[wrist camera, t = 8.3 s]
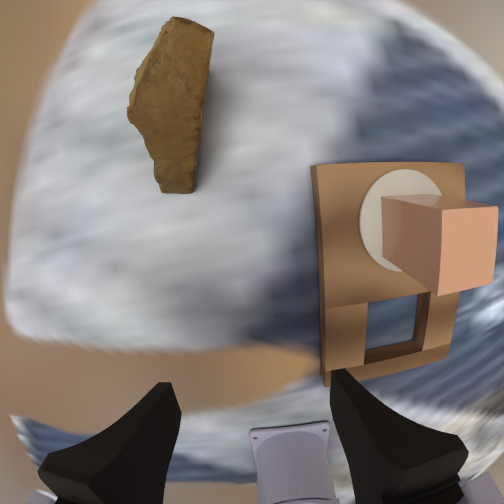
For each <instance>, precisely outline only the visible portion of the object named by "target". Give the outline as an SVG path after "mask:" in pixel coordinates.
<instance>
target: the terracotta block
mask: <svg viewBox="0 0 504 504" xmlns="http://www.w3.org/2000/svg"><path fill="white" fill-rule="evenodd" d="M381 212H382V257H383V258H385V259H386V260H388V261H389V262H391V263H392V264H393V265H395V266H396V267H398V268H399V269H401V270H402V271H403V272H405V273H406V274H408V275H409V276H410V277H412V278H413V279H415V280H416V281H417V282H419V283H420V284H421V285H423V286H424V287H426V288H427V289H428V290H430V291H431V292H432V293H434V294H435V295H436V296H441V295H445V294H450V293H454V292H458V291H463V290H467V289H471V288H475V287H479V286H482V285H486V284H490V283H492V281H493V274H494V266H495V257H496V245H497V230H498V206H494V205H489V204H484V203H479V202H474V201H468V200H463V199H458V198H452V197H446V196H440V195H434V194H418V195H399V196H382V197H381Z"/></svg>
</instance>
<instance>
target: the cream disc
mask: <svg viewBox="0 0 504 504" xmlns="http://www.w3.org/2000/svg"><path fill="white" fill-rule="evenodd" d="M418 194H434V195H440V196H442V194H441V192H440V191H439V189H438V187H437V186H436V185H435V183H434V182H433V181H432V180H431V179H430V178H428V177H427V176H426V175H424V174H422V173H420V172H418V171H415V170H409V169H398V170H393V171H389V172H387V173H385V174H383V175H381V176H380V177H379V178H377V179H376V180H375V181H374V182H373V183H372V184H371V185H370V187H369V188H368V190H367V191H366V193H365V195H364V197H363V199H362V202H361V205H360V209H359V215H358V228H359V234H360V238H361V241H362V244H363V246H364V248H365V250H366V251H367V253H368V254H369V255H370V256H371V257H372V258H373V259H374V260H375V261H376V262H377V263H379V264H380V265H381V266H383V267H385V268H387V269H389V270H393V271H400V272H403V271H402V270H401V269H399V268H398V267H396V266H395V265H393V264H392V263H391V262H389V261H388V260H386V259H385V258H383V257H382V212H381V197H382V196H399V195H418Z"/></svg>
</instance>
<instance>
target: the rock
mask: <svg viewBox="0 0 504 504" xmlns="http://www.w3.org/2000/svg"><path fill="white" fill-rule="evenodd" d="M213 39H214V32H213V31H211V30H210V29H208V28H206V27H204V26H202V25H200V24H198V23H196V22H194V21H192V20H189V19H185V18H180V17H171V19H170V21H167V22H166V23H165V25H163V26H162V29H161V32H160V33H159V36H158V38H157V40H156V41H155V43H154V46H153V48H152V49H151V50H150V52H149V53H148V55H147V56H146V58H145V59H144V60H143V62H142V64H141V66H140V67H139V68H137V70H136V75H135V77H134V79H135V85H134V88H133V90H132V91H131V93H130V98H129V103H130V105H129V106H128V107H127V117H128V119H129V121H130V123H131V124H133V125H134V126H135V127H136V128H137V129H138V131H139V132H140V133H141V135H142V136H143V138H144V141H145V146H146V148H147V150H148V151H149V154H150V157H151V158H152V159H153V160H154V177H155V179H156V181H157V183H159V186H160V190H161V192H162V193H178V194H189V193H193V192H194V190H195V186H196V170H197V162H198V149H199V146H200V135H201V125H202V117H203V104H204V102H205V90H206V84H207V80H208V72H209V64H210V58H211V53H212V45H213Z"/></svg>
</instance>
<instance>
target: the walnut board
mask: <svg viewBox="0 0 504 504" xmlns="http://www.w3.org/2000/svg"><path fill="white" fill-rule="evenodd" d="M398 169H409V170H415V171H418V172H420V173H422V174H424V175H426V176H427V177H428V178H430V179H431V180H432V181H433V182H434V183H435V185H436V186H437V187H438V189H439V191H440V192H441V194H442V196H446V197H452V198H458V199H463V200H465V176H464V163H445V162H369V163H343V164H325V165H314V166H311V176H312V186H313V197H314V208H315V221H316V235H317V251H318V270H319V293H320V337H321V376H322V380H323V383H324V386H325V387H329V386H331V370H336V369H342V368H345V369H346V370H347V371H348V372H349V373H350V374H351V375H352V376H353V377H354V378H355V379H356V380H357V381H362V380H366V379H371V378H376V377H380V376H384V375H389V374H393V373H397V372H401V371H405V370H408V369H412V368H416V367H419V366H423V365H426V364H429V363H433V362H436V361H439V360H442V359H445V358H447V356H448V352H449V347H450V343H451V339H452V334H453V329H454V324H455V319H456V313H457V307H458V301H459V294H460V291H458V292H454V293H450V294H445V295H441V296H436V295H435V294H434V293H432V292H431V291H430V290H428V289H427V288H426V287H424V286H423V285H421V284H420V283H419V282H417V281H416V280H415V279H413V278H412V277H410V276H409V275H408V274H406V273H405V272H400V271H393V270H389V269H387V268H385V267H383V266H381V265H380V264H379V263H377V262H376V261H375V260H374V259H373V258H372V257H371V256H370V255H369V254H368V253H367V251H366V250H365V248H364V246H363V244H362V241H361V238H360V234H359V228H358V215H359V209H360V205H361V202H362V199H363V197H364V195H365V193H366V191H367V190H368V188H369V187H370V185H371V184H372V183H373V182H374V181H375V180H376V179H377V178H379V177H380V176H381V175H383V174H385V173H387V172H389V171H393V170H398ZM413 294H418V304H417V313H416V321H415V328H414V335H413V340H410V341H406V342H401V343H397V344H392V345H388V346H383V347H378V348H373V349H368V350H365V342H366V328H367V310H368V302H374V301H380V300H386V299H392V298H397V297H403V296H408V295H413Z"/></svg>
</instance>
